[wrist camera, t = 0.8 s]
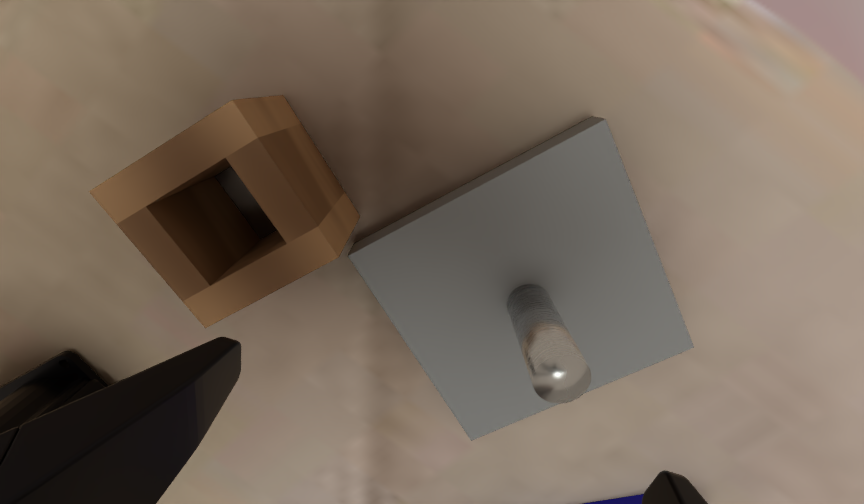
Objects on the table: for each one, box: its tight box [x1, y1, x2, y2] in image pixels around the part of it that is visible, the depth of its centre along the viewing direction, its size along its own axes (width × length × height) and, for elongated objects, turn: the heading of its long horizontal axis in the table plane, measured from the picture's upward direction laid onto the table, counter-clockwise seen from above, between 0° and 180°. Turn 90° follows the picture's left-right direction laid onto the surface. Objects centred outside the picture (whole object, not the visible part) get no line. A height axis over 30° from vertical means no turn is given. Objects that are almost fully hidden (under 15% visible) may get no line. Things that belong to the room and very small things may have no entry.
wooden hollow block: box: [89, 95, 360, 328], centre depth 17 cm, size 6×6×5 cm
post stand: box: [348, 116, 694, 441], centre depth 18 cm, size 12×12×7 cm
